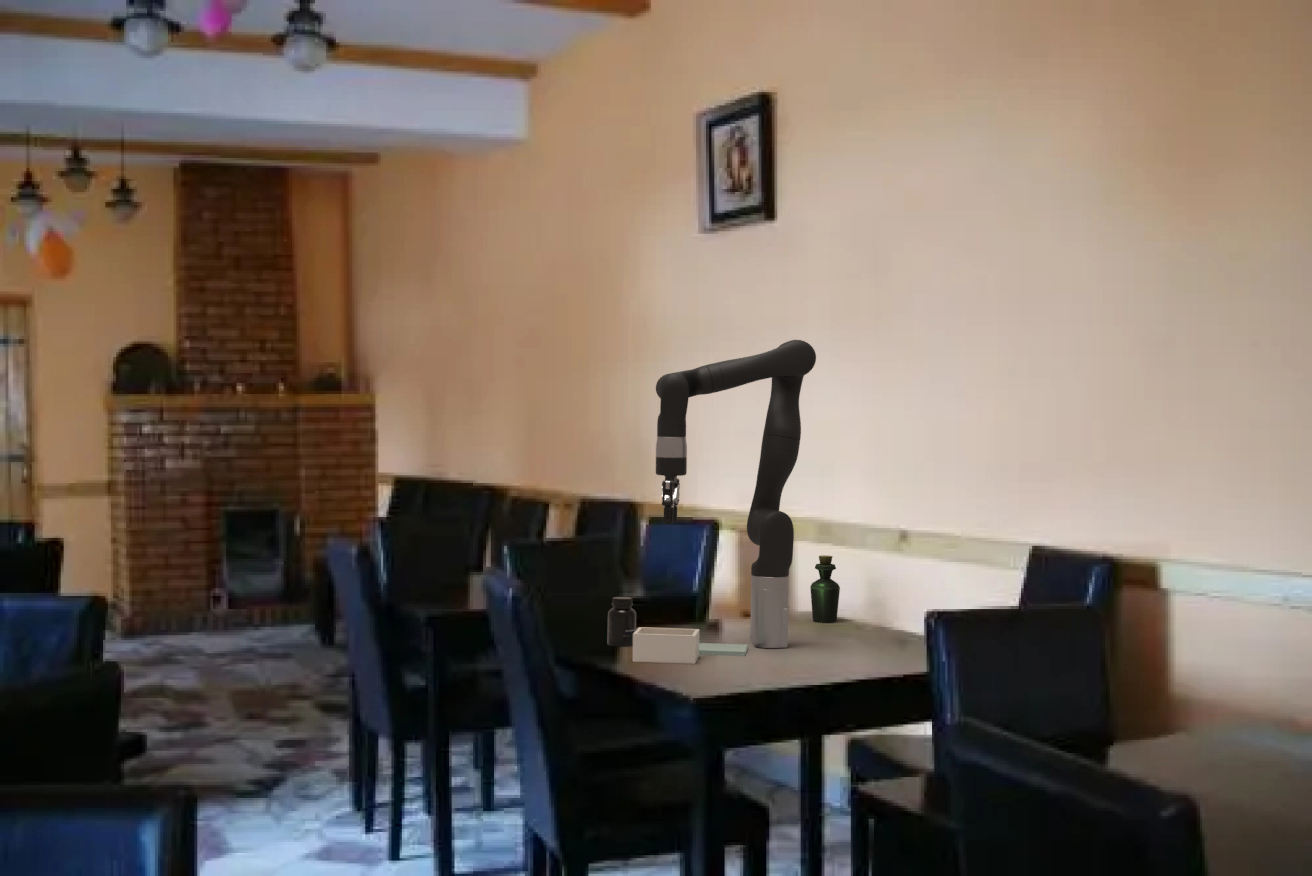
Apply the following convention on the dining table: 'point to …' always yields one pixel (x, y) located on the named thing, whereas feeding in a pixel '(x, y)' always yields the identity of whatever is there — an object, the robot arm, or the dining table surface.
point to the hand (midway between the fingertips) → (670, 522)
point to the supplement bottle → (621, 622)
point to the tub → (666, 645)
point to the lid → (723, 649)
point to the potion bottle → (825, 593)
